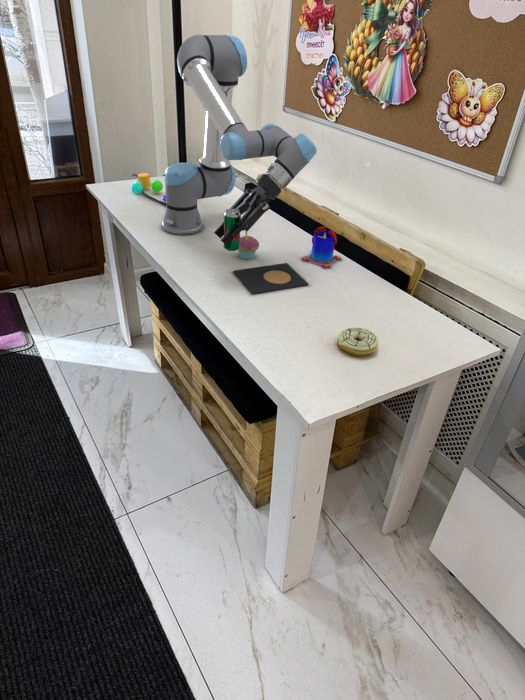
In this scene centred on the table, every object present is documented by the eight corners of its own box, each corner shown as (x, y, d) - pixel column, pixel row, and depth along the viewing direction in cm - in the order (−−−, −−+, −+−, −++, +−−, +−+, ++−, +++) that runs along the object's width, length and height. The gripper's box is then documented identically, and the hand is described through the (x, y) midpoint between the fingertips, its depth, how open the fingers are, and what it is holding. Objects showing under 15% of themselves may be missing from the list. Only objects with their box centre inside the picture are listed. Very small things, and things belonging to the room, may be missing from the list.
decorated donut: (340, 332, 143) (343, 321, 141) (378, 341, 141) (381, 329, 138) (333, 352, 135) (335, 340, 133) (373, 361, 132) (376, 350, 130)
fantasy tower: (343, 258, 183) (348, 227, 176) (328, 269, 175) (333, 237, 168) (314, 249, 188) (319, 218, 181) (299, 260, 180) (302, 227, 173)
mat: (233, 272, 169) (233, 269, 168) (286, 264, 176) (286, 262, 176) (251, 294, 157) (252, 292, 157) (308, 285, 165) (308, 283, 164)
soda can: (242, 246, 159) (243, 209, 152) (236, 253, 155) (237, 215, 148) (227, 243, 160) (228, 206, 153) (220, 249, 156) (221, 212, 149)
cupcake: (255, 263, 175) (257, 230, 168) (231, 259, 177) (232, 226, 170) (260, 253, 182) (262, 221, 175) (237, 249, 183) (238, 217, 176)
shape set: (133, 187, 235) (130, 172, 230) (208, 182, 239) (207, 166, 235) (131, 211, 211) (128, 193, 207) (215, 204, 216) (213, 187, 212)
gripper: (253, 164, 155) (202, 220, 158) (279, 182, 141) (222, 244, 145) (268, 180, 160) (218, 235, 163) (294, 199, 146) (239, 258, 150)
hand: (220, 239), depth 154 cm, fingers closed on soda can, 5 cm apart
